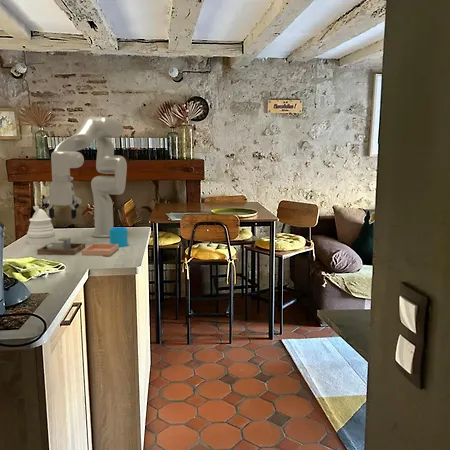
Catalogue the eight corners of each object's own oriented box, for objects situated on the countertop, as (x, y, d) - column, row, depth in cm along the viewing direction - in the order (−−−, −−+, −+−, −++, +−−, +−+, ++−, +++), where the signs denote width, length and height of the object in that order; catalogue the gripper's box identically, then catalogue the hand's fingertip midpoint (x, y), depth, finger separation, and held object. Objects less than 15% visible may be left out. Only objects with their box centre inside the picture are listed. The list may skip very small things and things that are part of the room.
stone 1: (55, 252, 200) (54, 240, 199) (64, 251, 200) (64, 240, 199) (52, 254, 196) (52, 242, 195) (62, 253, 196) (61, 242, 195)
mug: (126, 247, 213) (125, 230, 211) (108, 247, 212) (107, 230, 211) (129, 242, 225) (129, 225, 223) (113, 242, 224) (112, 225, 223)
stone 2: (62, 248, 207) (61, 237, 206) (71, 248, 207) (70, 237, 206) (58, 250, 203) (58, 239, 202) (67, 250, 203) (67, 239, 202)
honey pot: (38, 246, 213) (36, 208, 210) (21, 243, 220) (19, 206, 217) (61, 241, 224) (59, 205, 221) (44, 239, 231) (42, 204, 228)
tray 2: (92, 249, 208) (92, 243, 208) (118, 249, 208) (118, 244, 207) (82, 256, 194) (81, 250, 194) (109, 256, 194) (109, 250, 193)
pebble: (48, 250, 203) (48, 243, 203) (55, 250, 203) (55, 243, 203) (45, 251, 200) (45, 244, 200) (53, 251, 200) (52, 244, 199)
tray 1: (50, 248, 209) (50, 243, 208) (85, 248, 208) (84, 243, 208) (37, 255, 195) (37, 249, 194) (74, 255, 194) (73, 250, 194)
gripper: (83, 179, 203) (85, 217, 206) (45, 179, 204) (47, 216, 206) (77, 180, 196) (79, 219, 198) (38, 179, 196) (40, 219, 199)
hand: (63, 218), depth 202 cm, fingers open, 9 cm apart
